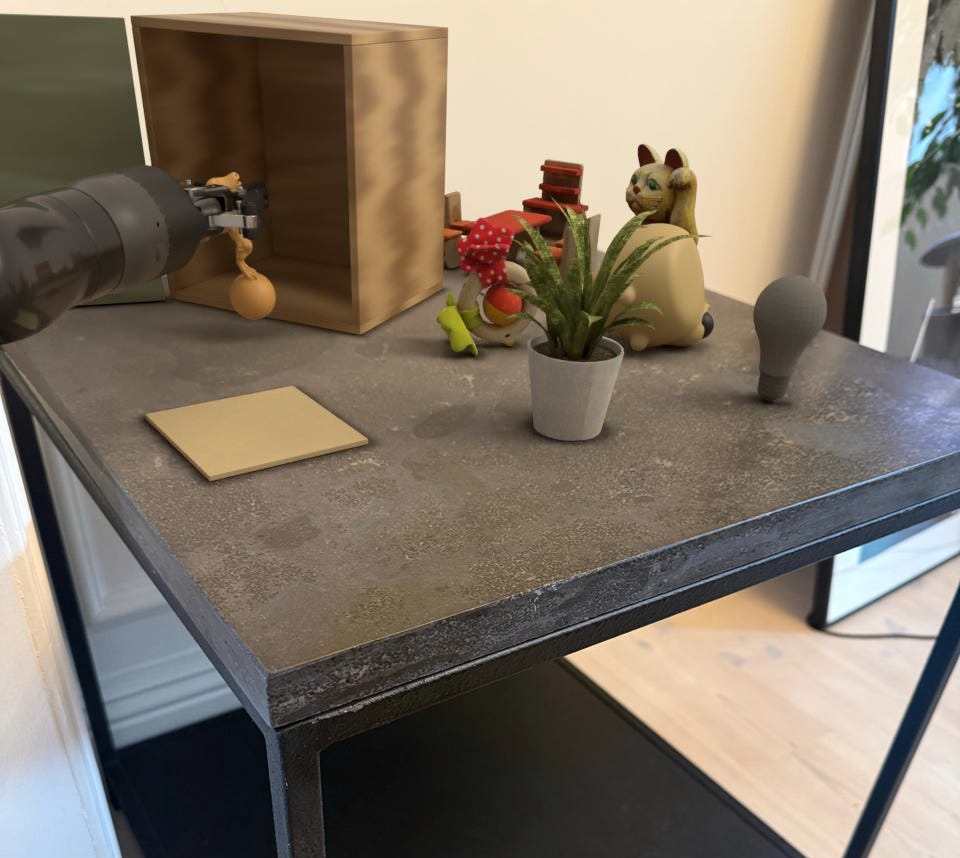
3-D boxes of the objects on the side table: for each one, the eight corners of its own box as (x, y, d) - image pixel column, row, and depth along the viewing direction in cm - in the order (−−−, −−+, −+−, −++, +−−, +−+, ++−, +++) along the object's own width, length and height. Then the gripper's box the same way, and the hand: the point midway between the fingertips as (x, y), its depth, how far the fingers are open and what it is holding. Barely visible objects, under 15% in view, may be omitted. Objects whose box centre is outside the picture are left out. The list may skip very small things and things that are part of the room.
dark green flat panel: (-75, 294, 91) (-159, 4, 78) (157, 281, 98) (117, 13, 85) (-80, 315, 86) (-171, 8, 73) (165, 300, 93) (124, 18, 80)
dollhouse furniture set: (410, 265, 108) (410, 171, 103) (489, 235, 122) (493, 151, 116) (559, 295, 101) (568, 195, 96) (626, 260, 115) (638, 171, 109)
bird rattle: (494, 355, 91) (411, 322, 87) (547, 243, 86) (461, 201, 82) (516, 379, 86) (429, 345, 82) (573, 261, 81) (484, 218, 77)
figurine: (277, 338, 83) (284, 193, 75) (206, 332, 81) (206, 183, 73) (271, 302, 89) (277, 164, 81) (205, 296, 87) (205, 154, 80)
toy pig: (671, 396, 88) (756, 313, 87) (611, 308, 80) (705, 214, 79) (616, 358, 95) (694, 280, 94) (556, 273, 87) (641, 186, 86)
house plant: (678, 403, 77) (716, 186, 68) (676, 475, 66) (721, 226, 57) (506, 384, 79) (520, 169, 70) (476, 451, 68) (487, 206, 58)
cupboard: (360, 335, 88) (351, 34, 74) (169, 298, 94) (129, 15, 80) (442, 288, 101) (448, 27, 88) (271, 259, 108) (252, 11, 94)
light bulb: (815, 412, 77) (849, 285, 71) (753, 414, 76) (782, 286, 70) (784, 387, 82) (813, 266, 76) (724, 389, 80) (749, 267, 75)
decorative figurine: (595, 295, 102) (612, 139, 93) (648, 285, 106) (670, 135, 97) (660, 319, 96) (685, 155, 87) (714, 308, 100) (743, 150, 91)
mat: (145, 419, 70) (144, 413, 70) (293, 390, 76) (292, 385, 76) (209, 481, 62) (209, 476, 62) (368, 444, 68) (368, 438, 68)
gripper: (200, 184, 64) (315, 152, 78) (26, 162, 67) (165, 135, 81) (213, 297, 68) (319, 248, 82) (48, 272, 72) (177, 228, 85)
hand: (242, 192), depth 81 cm, fingers open, 3 cm apart
